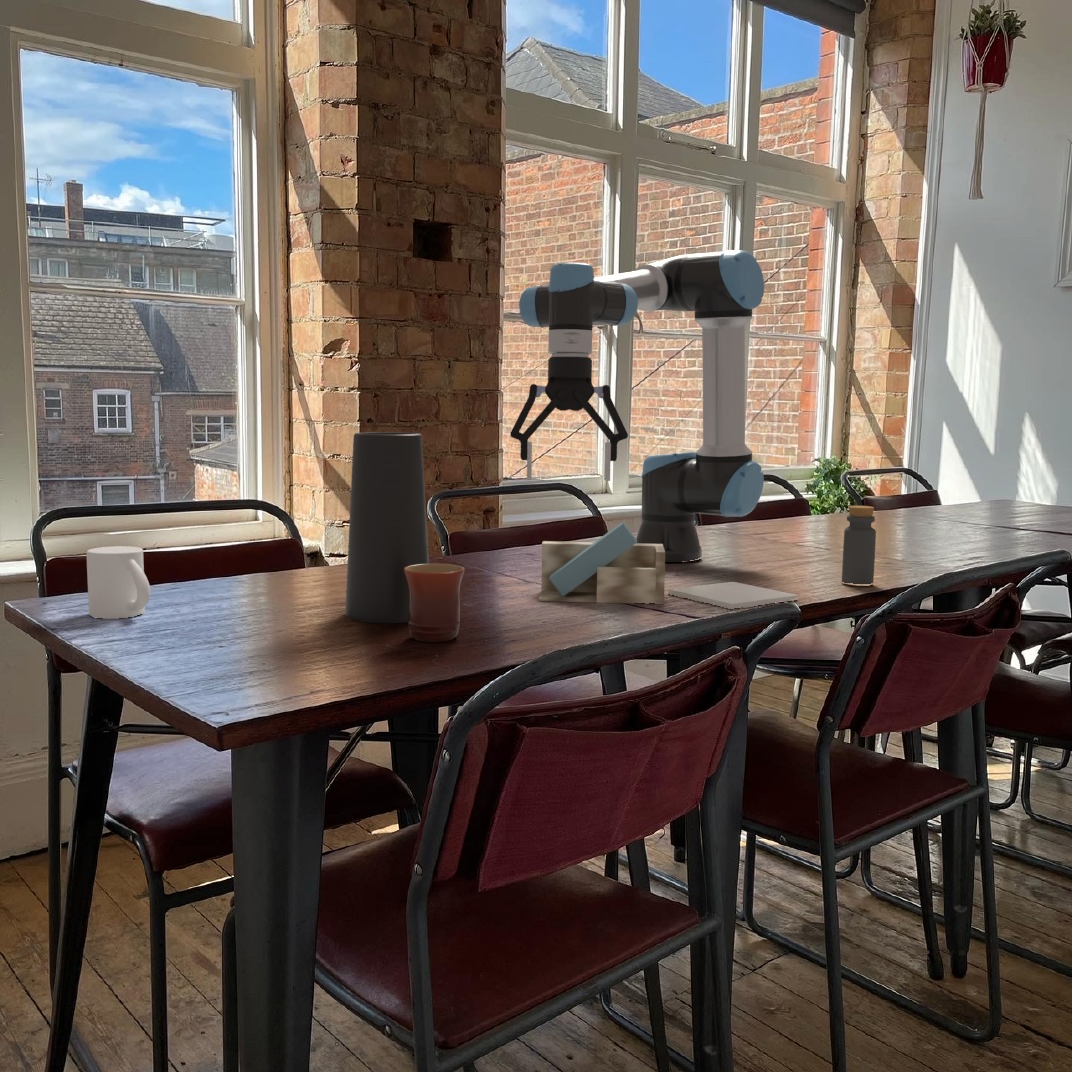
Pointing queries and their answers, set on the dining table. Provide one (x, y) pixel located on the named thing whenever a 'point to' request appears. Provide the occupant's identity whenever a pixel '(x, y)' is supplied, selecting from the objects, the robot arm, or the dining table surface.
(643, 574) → the block
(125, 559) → the mug
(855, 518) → the bottle
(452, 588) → the mug
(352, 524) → the vase
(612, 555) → the bar
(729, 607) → the tile
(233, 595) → the dining table surface
